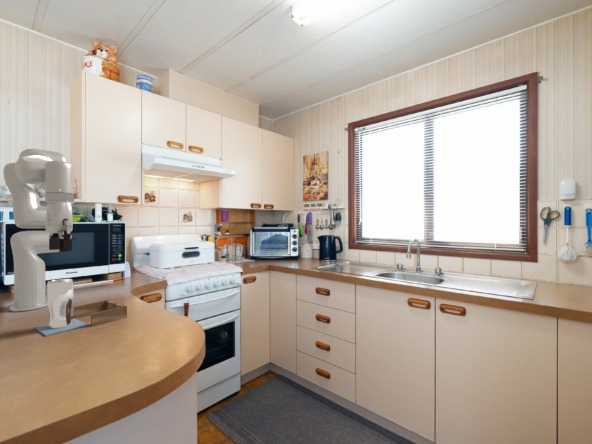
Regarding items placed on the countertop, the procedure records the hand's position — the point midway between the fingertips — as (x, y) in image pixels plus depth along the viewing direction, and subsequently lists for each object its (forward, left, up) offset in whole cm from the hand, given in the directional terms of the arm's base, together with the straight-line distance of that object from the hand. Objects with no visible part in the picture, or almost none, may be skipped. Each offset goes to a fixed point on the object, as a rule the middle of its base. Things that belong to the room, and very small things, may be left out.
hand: (60, 250), depth 96 cm
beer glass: (0, 0, -25) cm, 25 cm away
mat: (0, 0, -26) cm, 26 cm away
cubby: (0, +11, -26) cm, 28 cm away
